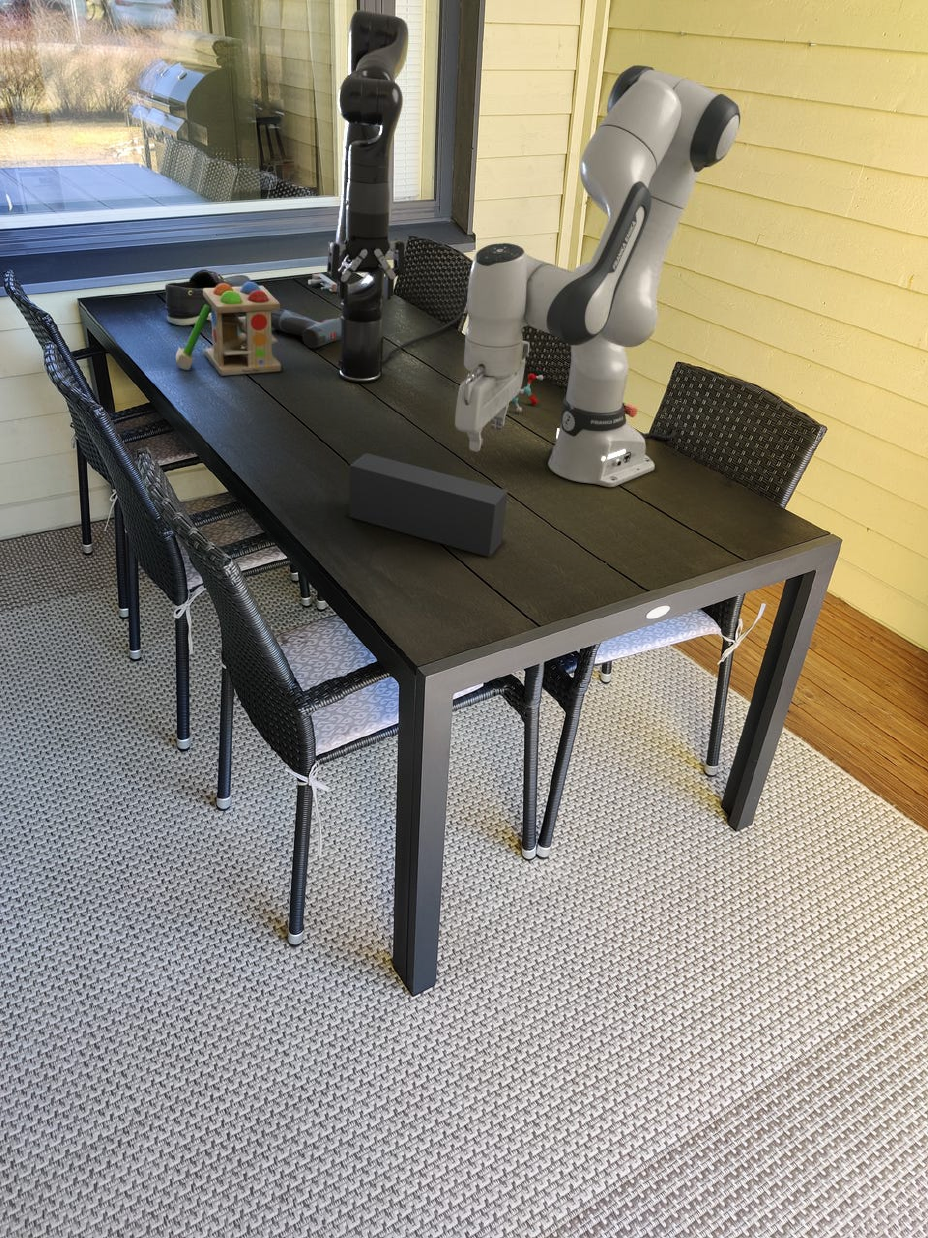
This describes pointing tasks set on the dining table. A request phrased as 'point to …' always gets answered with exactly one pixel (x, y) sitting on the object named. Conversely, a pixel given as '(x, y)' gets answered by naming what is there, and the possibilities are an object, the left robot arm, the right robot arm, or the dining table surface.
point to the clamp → (324, 282)
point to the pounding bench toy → (229, 347)
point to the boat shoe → (194, 295)
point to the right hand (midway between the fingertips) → (486, 438)
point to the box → (427, 504)
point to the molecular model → (527, 392)
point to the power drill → (307, 327)
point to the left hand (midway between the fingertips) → (365, 299)
